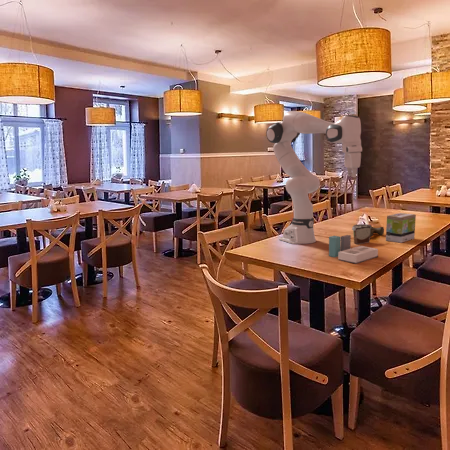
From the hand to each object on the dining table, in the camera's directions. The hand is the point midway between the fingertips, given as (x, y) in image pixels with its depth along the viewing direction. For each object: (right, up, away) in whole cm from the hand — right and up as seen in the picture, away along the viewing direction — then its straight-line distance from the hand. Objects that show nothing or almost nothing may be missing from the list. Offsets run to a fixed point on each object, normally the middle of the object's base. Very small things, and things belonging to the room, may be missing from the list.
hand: (351, 176), depth 206 cm
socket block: (+2, -40, -2) cm, 40 cm away
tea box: (+38, -33, +34) cm, 61 cm away
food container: (+14, -34, +32) cm, 48 cm away
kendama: (+27, -31, +48) cm, 63 cm away
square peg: (-7, -40, +4) cm, 41 cm away
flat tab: (0, -38, +10) cm, 40 cm away
